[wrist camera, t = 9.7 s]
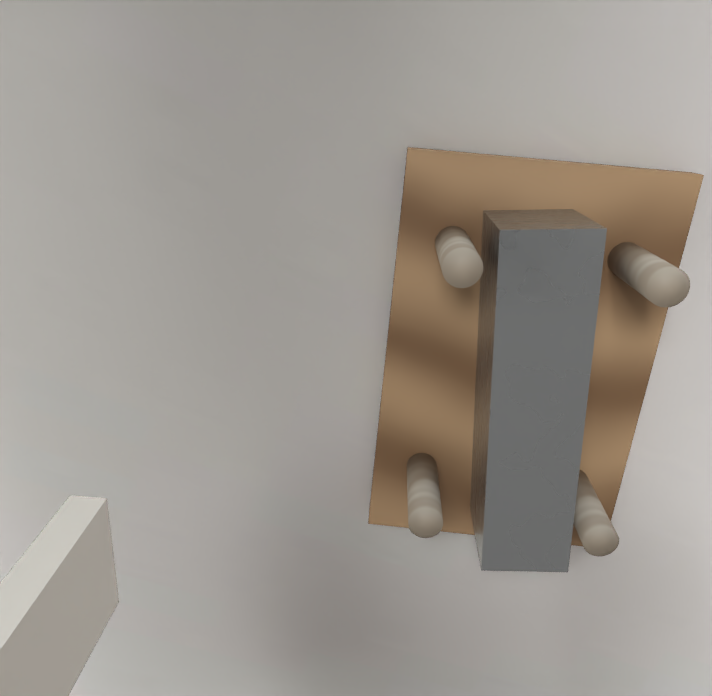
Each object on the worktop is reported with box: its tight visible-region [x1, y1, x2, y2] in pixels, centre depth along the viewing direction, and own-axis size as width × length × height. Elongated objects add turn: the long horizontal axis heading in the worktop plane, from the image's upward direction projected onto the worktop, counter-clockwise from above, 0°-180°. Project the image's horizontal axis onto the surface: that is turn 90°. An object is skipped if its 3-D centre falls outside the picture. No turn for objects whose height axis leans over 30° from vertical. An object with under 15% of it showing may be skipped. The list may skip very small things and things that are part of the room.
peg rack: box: [368, 147, 704, 556], centre depth 30 cm, size 20×13×6 cm, turn 175°
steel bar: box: [470, 209, 607, 572], centre depth 29 cm, size 16×4×5 cm, turn 1°
